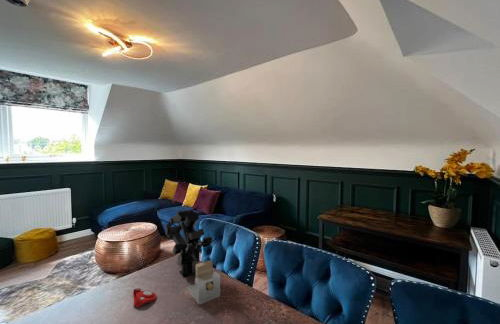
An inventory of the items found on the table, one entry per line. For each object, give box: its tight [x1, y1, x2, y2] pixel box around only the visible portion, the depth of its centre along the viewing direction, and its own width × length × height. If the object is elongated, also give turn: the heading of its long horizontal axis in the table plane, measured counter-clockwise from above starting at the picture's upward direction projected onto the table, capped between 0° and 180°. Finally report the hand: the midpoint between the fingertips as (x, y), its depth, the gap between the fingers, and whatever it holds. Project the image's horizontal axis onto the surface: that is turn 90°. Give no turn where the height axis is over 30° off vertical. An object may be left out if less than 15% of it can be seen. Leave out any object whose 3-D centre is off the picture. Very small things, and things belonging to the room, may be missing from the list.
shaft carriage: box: [195, 260, 214, 291], centre depth 101 cm, size 8×7×13 cm
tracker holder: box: [132, 287, 157, 308], centre depth 100 cm, size 12×4×10 cm
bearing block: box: [186, 271, 221, 305], centre depth 105 cm, size 15×10×10 cm
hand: (198, 261), depth 109 cm, fingers closed
